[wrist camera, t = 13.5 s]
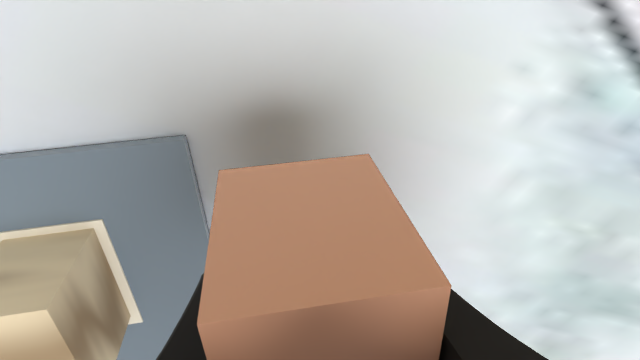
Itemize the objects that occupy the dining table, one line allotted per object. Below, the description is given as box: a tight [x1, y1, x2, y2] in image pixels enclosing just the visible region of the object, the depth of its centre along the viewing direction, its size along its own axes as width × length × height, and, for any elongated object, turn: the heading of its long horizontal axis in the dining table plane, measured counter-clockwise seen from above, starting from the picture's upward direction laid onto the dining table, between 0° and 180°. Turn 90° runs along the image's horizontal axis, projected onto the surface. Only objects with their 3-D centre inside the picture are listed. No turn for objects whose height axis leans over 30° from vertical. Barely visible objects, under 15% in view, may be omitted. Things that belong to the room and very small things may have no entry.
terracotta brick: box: [197, 154, 451, 360], centre depth 10 cm, size 6×4×5 cm, turn 2°
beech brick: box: [0, 228, 131, 360], centre depth 17 cm, size 6×4×5 cm, turn 3°
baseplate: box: [0, 135, 210, 360], centre depth 20 cm, size 14×14×1 cm
